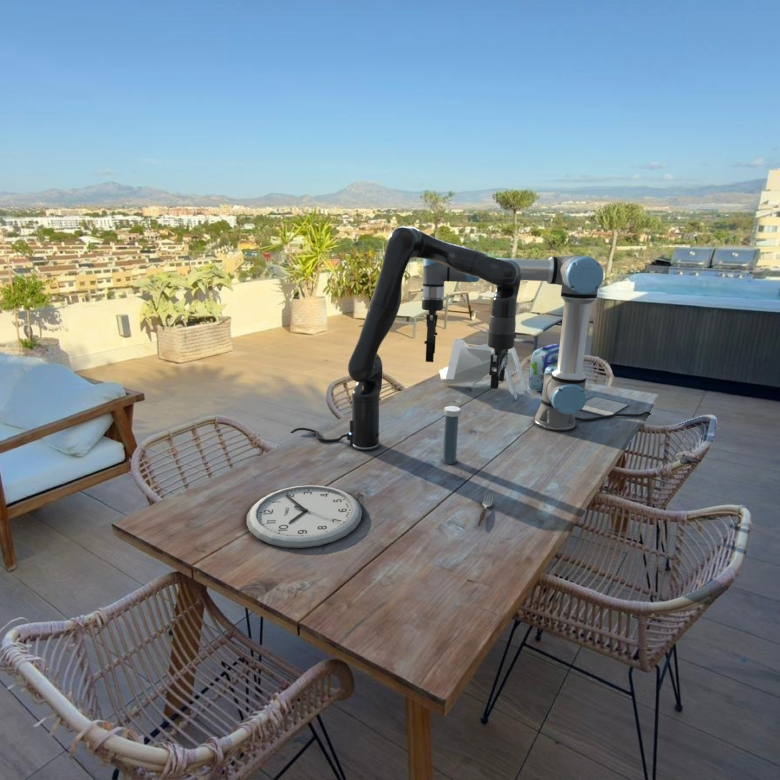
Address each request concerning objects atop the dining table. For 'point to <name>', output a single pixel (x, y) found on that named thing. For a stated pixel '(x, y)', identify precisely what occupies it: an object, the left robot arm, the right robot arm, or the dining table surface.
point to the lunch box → (542, 365)
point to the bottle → (450, 439)
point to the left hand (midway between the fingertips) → (497, 384)
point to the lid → (452, 411)
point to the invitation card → (603, 406)
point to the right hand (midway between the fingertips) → (430, 357)
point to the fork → (485, 504)
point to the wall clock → (304, 516)
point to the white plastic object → (477, 365)
